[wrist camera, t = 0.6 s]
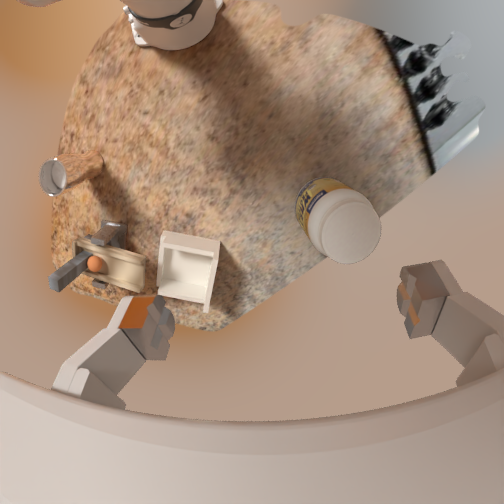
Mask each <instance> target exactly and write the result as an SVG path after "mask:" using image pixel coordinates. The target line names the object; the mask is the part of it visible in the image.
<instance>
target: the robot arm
mask: <svg viewBox="0 0 504 504" xmlns="http://www.w3.org/2000/svg"><path fill="white" fill-rule="evenodd" d="M17 1H19V2H20V3H22V4H24V5H28V6H33V7H45V6H48V5H50V4H53V3H55V2H58V1H61V0H17ZM120 1H122V2H123V3H124V4H126V6H124V7H123V9H124V12H125V14H126V15H129V22H130V24H131V27H132V31H133V35H134V39H135V43H136V44H137V45H138V46H154V47H157V48H160V49H164V50H180V49H184V48H187V47H190V46H192V45H194V44H196V43H198V42H199V41H201V40H202V39H203V38H205V37H206V36H207V35H208V33H209V32H210V31H211V29H212V27H213V25H214V23H215V18H216V14H217V12H218V11H219V10H220V8H221V7H222V5H223V0H120ZM139 35H140V37H139ZM400 278H401V280H402V282H401V283H400V285H399V286H398V289H397V304H398V308H399V311H400V313H401V314H402V315H404V316H405V317H406V319H405V322H404V324H405V327H406V330H407V333H408V336H409V338H410V339H412V338H417V337H422V336H427V335H432V337H433V338H434V339H435V340H437V341H438V342H439V343H440V344H441V345H442V346H443V347H444V348H445V349H446V350H447V351H448V352H449V353H450V354H451V355H452V356H453V357H454V358H456V360H457V361H458V362H459V363H460V364H462V365H463V366H464V367H465V369H464V370H463V371H462V373H461V374H460V375H459V377H458V378H457V380H456V384H457V387H456V388H453V389H450V390H447V391H444V392H441V393H438V394H435V395H431V396H428V397H424V398H421V399H417V400H413V401H410V402H406V403H402V404H398V405H393V406H389V407H384V408H379V409H374V410H369V411H364V412H358V413H352V414H346V415H338V416H330V417H322V418H313V419H301V420H286V421H255V422H253V421H246V422H245V421H212V420H198V419H187V418H176V417H167V416H161V415H153V414H147V413H141V412H135V411H130V410H125V406H126V404H125V402H124V401H123V400H122V399H120V398H119V397H118V396H117V394H118V393H119V392H120V391H121V389H122V388H123V387H124V386H125V385H126V384H127V383H128V382H129V380H130V379H131V378H132V377H133V376H134V375H135V373H136V372H137V371H138V370H139V369H140V368H141V366H142V365H143V364H144V363H145V362H146V360H166V357H167V354H168V350H169V347H170V344H169V343H168V340H169V339H170V338H171V337H172V336H173V334H174V330H175V320H174V317H173V314H172V312H171V311H170V310H169V309H167V308H166V307H164V306H165V303H166V302H165V300H164V298H163V297H162V295H136V296H125V297H123V298H122V299H121V301H120V303H119V305H118V307H117V309H116V311H115V313H114V315H113V317H112V319H111V321H110V323H109V325H108V327H107V329H103V330H101V331H100V332H99V333H98V334H97V335H96V336H94V337H93V338H92V339H91V340H90V341H88V342H87V343H86V344H85V345H84V346H82V347H81V348H80V349H79V350H78V351H77V352H76V353H74V354H73V355H72V356H71V357H70V358H69V359H67V360H66V361H65V362H64V363H63V364H62V366H61V368H60V371H59V373H58V375H57V377H56V379H55V382H54V384H53V386H52V389H51V390H49V389H46V388H43V387H41V386H38V385H35V384H33V383H30V382H27V381H25V380H22V379H20V378H17V377H15V376H13V375H11V374H8V373H6V372H0V504H504V316H503V315H502V314H500V313H499V312H497V311H496V310H494V309H493V308H491V307H490V306H488V305H487V304H485V303H484V302H482V301H481V300H479V299H478V298H476V297H474V296H473V295H471V294H469V293H468V292H463V291H462V289H461V288H460V286H459V284H458V283H457V281H456V279H455V278H454V276H453V275H452V273H451V272H450V270H449V268H448V267H447V266H446V264H445V262H444V261H442V260H438V261H432V262H429V263H422V264H416V265H411V266H405V267H402V269H401V273H400Z"/></svg>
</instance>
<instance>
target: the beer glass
mask: <svg viewBox="0 0 504 504" xmlns="http://www.w3.org/2000/svg"><path fill="white" fill-rule="evenodd" d="M102 169H103V159H102V156H101V155H100V153H99V152H97V151H95V150H88V151H86V152H84V153H83V154H78V153H65V154H61V155H58V156H56V157H53V158H50V159H47V160H46V161H45V162H44V163H43V164H42V166H41V168H40V171H39V183H40V186H41V188H42V190H43V191H44V193H46V194H47V195H48V196H51V197H55V196H58V195H61V194H64V193H67V192H69V191H71V190H73V189H75V188H76V187H78V186H79V185H80V184H81V183H83V182H84V181H85V180H86V179H89V178H95V177H97V176H98V175H99V174H100V173H101V171H102Z"/></svg>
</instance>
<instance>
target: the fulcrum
mask: <svg viewBox="0 0 504 504" xmlns="http://www.w3.org/2000/svg"><path fill="white" fill-rule="evenodd" d="M126 234H127V224H123V223H118V222H113V221H107V220H102V221H101V229H100V230H99V231H98V232H97V233H95V234H94V235H93V236H92V237H91V243H92V244H96V245H101V246H105V245H110V246H113V247H117V248H120V249H123V250H126ZM108 284H109V283H107V282H104V281H101V280H99V279H96V278H94V280H93V281H92V285H93V286H94V287H97V288H101V289H106V287H107V286H108Z"/></svg>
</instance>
